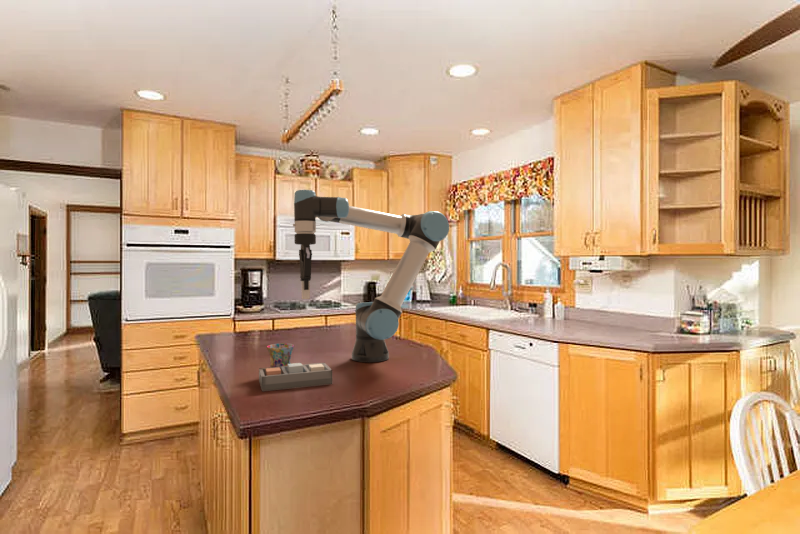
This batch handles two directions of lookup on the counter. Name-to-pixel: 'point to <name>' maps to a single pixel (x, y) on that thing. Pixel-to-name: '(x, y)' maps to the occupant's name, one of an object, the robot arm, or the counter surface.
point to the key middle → (295, 368)
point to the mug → (280, 354)
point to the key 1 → (273, 371)
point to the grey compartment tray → (295, 378)
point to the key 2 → (316, 367)
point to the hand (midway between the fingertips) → (305, 298)
